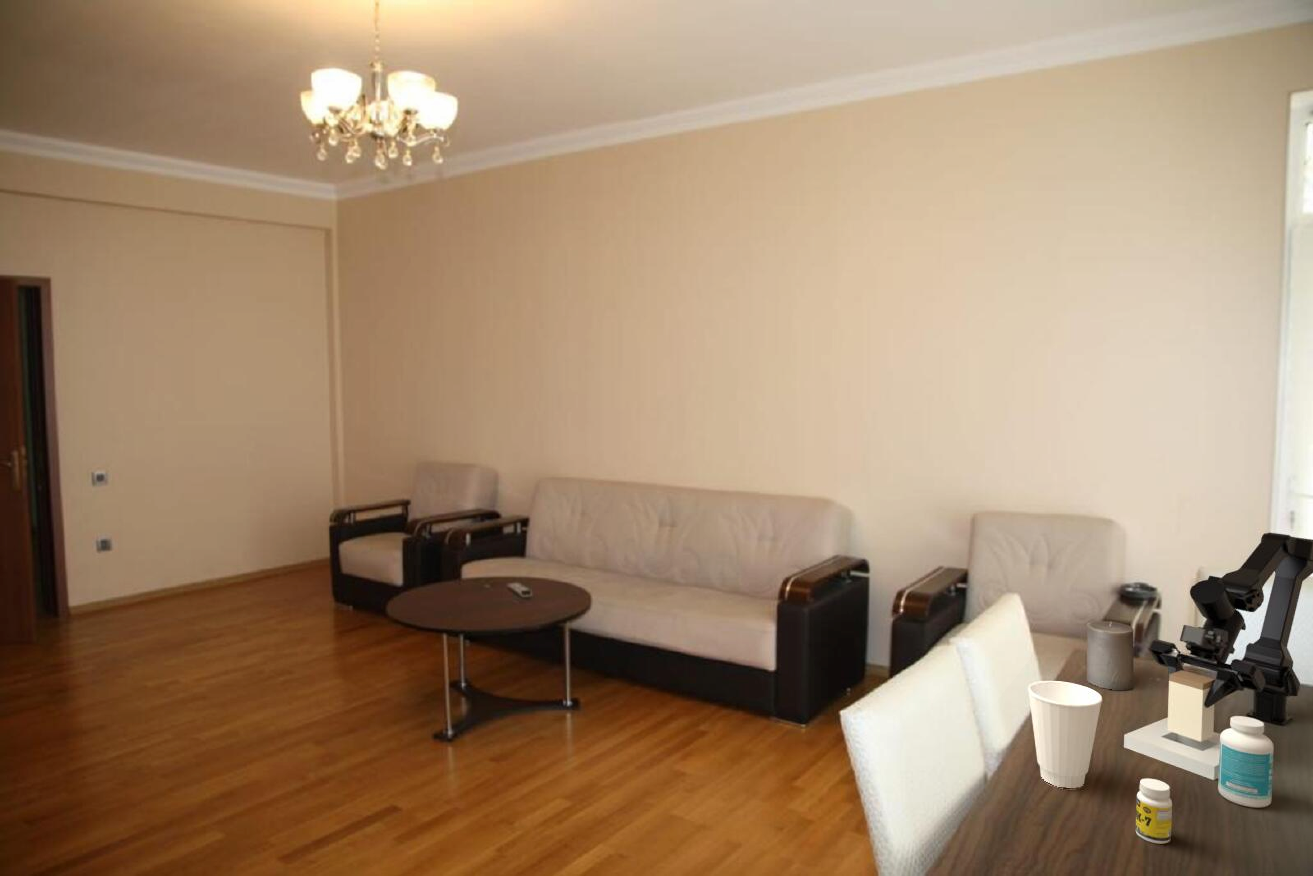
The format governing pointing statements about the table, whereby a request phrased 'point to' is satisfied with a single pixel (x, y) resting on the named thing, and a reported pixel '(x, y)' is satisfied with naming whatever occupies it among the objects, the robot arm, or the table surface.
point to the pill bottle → (1246, 763)
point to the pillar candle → (1110, 655)
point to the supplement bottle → (1154, 811)
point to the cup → (1064, 730)
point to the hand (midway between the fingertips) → (1187, 701)
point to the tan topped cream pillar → (1190, 705)
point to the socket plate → (1176, 748)
